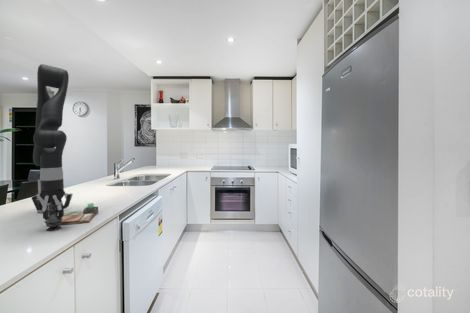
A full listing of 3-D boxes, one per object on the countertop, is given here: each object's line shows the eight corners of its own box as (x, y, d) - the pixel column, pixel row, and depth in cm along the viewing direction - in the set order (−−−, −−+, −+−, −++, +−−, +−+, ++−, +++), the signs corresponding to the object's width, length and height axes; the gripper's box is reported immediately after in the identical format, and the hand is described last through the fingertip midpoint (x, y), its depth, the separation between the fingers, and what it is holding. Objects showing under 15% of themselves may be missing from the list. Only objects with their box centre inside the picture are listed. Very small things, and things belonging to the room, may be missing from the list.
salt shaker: (43, 232, 93) (42, 203, 92) (47, 227, 98) (45, 199, 98) (61, 229, 96) (60, 201, 95) (63, 225, 101) (63, 198, 100)
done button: (87, 210, 115) (86, 204, 115) (88, 209, 118) (88, 203, 118) (93, 210, 116) (92, 204, 116) (94, 208, 119) (94, 203, 118)
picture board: (46, 226, 99) (46, 219, 99) (62, 214, 116) (61, 208, 116) (89, 222, 105) (89, 216, 105) (98, 211, 122) (98, 205, 122)
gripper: (75, 176, 102) (76, 214, 103) (35, 177, 97) (37, 217, 98) (69, 178, 95) (70, 220, 96) (26, 180, 90) (27, 223, 91)
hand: (53, 218), depth 97 cm, fingers closed on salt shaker, 4 cm apart
